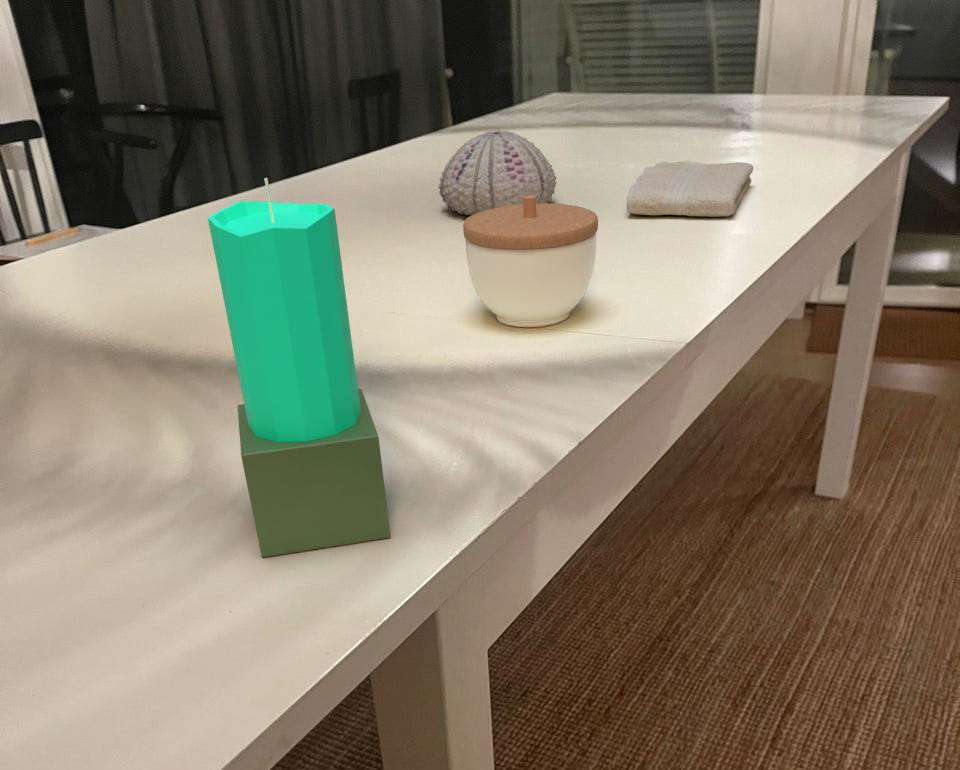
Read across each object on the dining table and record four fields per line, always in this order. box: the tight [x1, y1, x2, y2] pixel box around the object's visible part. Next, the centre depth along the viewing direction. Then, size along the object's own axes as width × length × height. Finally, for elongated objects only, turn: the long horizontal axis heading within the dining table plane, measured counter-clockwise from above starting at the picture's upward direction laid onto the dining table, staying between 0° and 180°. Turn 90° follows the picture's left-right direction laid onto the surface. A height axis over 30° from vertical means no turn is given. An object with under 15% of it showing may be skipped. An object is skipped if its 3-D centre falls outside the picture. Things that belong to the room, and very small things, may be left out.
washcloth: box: [626, 160, 754, 218], centre depth 117 cm, size 12×18×3 cm, turn 162°
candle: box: [207, 177, 361, 442], centre depth 52 cm, size 6×6×12 cm
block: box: [237, 388, 391, 558], centre depth 57 cm, size 7×7×6 cm
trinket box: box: [462, 195, 599, 328], centre depth 84 cm, size 11×11×9 cm
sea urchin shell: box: [438, 130, 557, 217], centre depth 117 cm, size 13×14×8 cm
